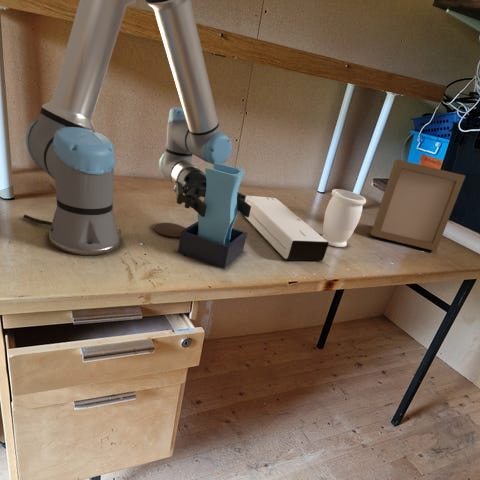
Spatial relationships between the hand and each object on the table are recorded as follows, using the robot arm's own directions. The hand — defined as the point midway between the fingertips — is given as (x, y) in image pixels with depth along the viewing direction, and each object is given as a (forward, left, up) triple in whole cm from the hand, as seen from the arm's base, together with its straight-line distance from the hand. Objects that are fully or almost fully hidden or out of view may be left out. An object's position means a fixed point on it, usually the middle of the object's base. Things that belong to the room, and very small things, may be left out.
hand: (227, 211), depth 96 cm
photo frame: (+43, +64, -13) cm, 78 cm away
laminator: (+7, +28, -13) cm, 31 cm away
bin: (-3, +3, -12) cm, 13 cm away
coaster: (-17, +7, -12) cm, 22 cm away
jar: (+23, +39, -13) cm, 47 cm away
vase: (-3, +2, -12) cm, 12 cm away
